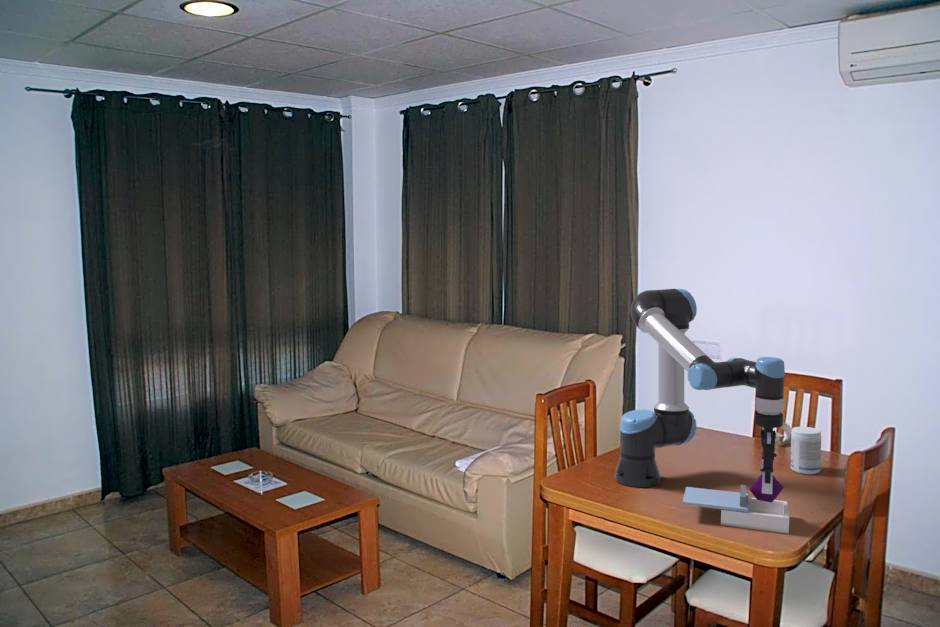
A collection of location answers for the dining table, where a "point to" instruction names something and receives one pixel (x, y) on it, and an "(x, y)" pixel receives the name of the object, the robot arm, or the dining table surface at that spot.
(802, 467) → the supplement tub
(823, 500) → the dining table surface
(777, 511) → the storage box
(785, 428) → the beige irregular lump
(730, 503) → the lid
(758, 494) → the perfume bottle
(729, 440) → the dining table surface
